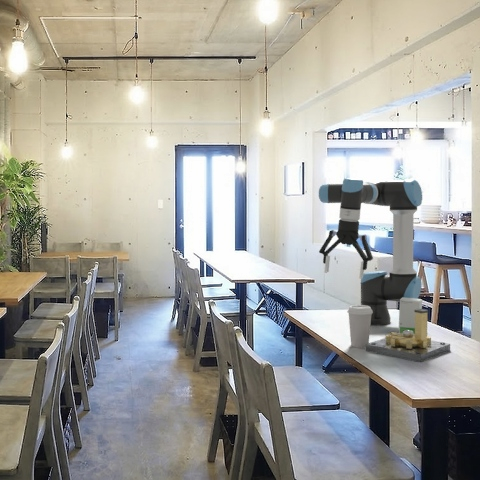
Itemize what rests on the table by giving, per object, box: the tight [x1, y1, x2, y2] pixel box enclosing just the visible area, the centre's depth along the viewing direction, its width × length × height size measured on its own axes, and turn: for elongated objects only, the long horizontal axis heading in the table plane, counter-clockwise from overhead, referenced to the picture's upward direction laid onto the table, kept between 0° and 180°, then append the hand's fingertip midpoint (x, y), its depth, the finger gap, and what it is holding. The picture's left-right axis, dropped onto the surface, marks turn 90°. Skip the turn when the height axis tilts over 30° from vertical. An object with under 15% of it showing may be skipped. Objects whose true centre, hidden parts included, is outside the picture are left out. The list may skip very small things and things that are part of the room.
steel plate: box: [365, 330, 451, 363], centre depth 215 cm, size 22×22×7 cm
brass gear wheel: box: [385, 308, 432, 349], centre depth 214 cm, size 16×16×13 cm
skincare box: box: [398, 297, 423, 334], centre depth 237 cm, size 8×7×16 cm
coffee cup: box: [346, 304, 373, 349], centre depth 222 cm, size 10×10×15 cm
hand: (343, 275), depth 221 cm, fingers open, 13 cm apart
